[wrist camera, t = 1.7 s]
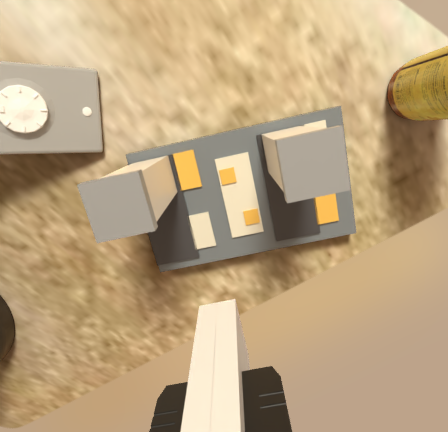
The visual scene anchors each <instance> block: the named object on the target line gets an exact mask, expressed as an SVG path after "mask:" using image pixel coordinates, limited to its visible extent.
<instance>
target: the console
mask: <svg viewBox="0 0 448 432" xmlns="http://www.w3.org/2000/svg"><path fill="white" fill-rule="evenodd" d="M297 126H307V127H318V128H329V127H333V126H343V119H342V111H341V106H337V107H332V108H327V109H323V110H318V111H314V112H310V113H305V114H301V115H296V116H292V117H287V118H283V119H279V120H274V121H270V122H265V123H261V124H257V125H252V126H248V127H243V128H239V129H235V130H230V131H226V132H221V133H217V134H213V135H208V136H204V137H199V138H195V139H190V140H186V141H182V142H177V143H173V144H168V145H164V146H160V147H155V148H151V149H146V150H142V151H138V152H133V153H129V154H127V155H126V158H127V161H128V165H130V164H132V163H136V162H141V161H145V160H150V159H154V158H159V157H163V156H168V158H169V161H170V165H171V169H172V173H173V177H174V180H175V184H176V188H177V193H176V195H175V196H174V198H173V199H172V200H171V202H170V203H169V205H168V206H167V208H166V209H165V211H164V212H163V213H162V215H161V216H160V218H159V219H158V221H157V225H158V227H157V229H156V231H153V232H148V235H149V238H150V242H151V245H152V248H153V252H154V255H155V259H156V262H157V265H158V266H159V269H160V272H164V271H169V270H174V269H179V268H184V267H189V266H194V265H199V264H204V263H209V262H214V261H219V260H224V259H229V258H234V257H239V256H244V255H249V254H254V253H259V252H264V251H269V250H274V249H279V248H284V247H289V246H294V245H299V244H304V243H309V242H314V241H319V240H324V239H329V238H334V237H339V236H344V235H349V234H354V233H356V226H355V218H354V210H353V201H352V193H351V185H350V190H349V191H344V192H339V193H335V194H330V195H325V196H320V197H316V198H311V199H306V200H301V201H296V202H292V203H287V202H286V201H285V197H284V192H283V191H282V189H281V188H280V187H279V185H278V184H277V183H276V181H275V180H274V179H273V178H272V176H271V175H270V174H269V172H268V167H267V162H266V157H265V151H264V146H263V140H262V135H261V134H266V133H270V132H274V131H279V130H283V129H288V128H292V127H297ZM343 133H344V127H343ZM344 141H345V136H344ZM345 149H346V144H345ZM346 157H347V152H346ZM347 166H348V160H347ZM348 174H349V168H348ZM349 182H350V177H349Z"/></svg>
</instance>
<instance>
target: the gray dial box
mask: <svg viewBox="0 0 448 432" xmlns="http://www.w3.org/2000/svg"><path fill="white" fill-rule="evenodd" d="M47 108H48V109H47ZM47 117H48V118H47ZM45 122H46V123H45ZM43 125H44V126H43ZM102 151H103V142H102V128H101V114H100V100H99V86H98V72H97V70H95V69H88V68H76V67H65V66H53V65H41V64H30V63H18V62H6V61H0V155H1V154H49V153H97V152H102Z"/></svg>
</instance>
